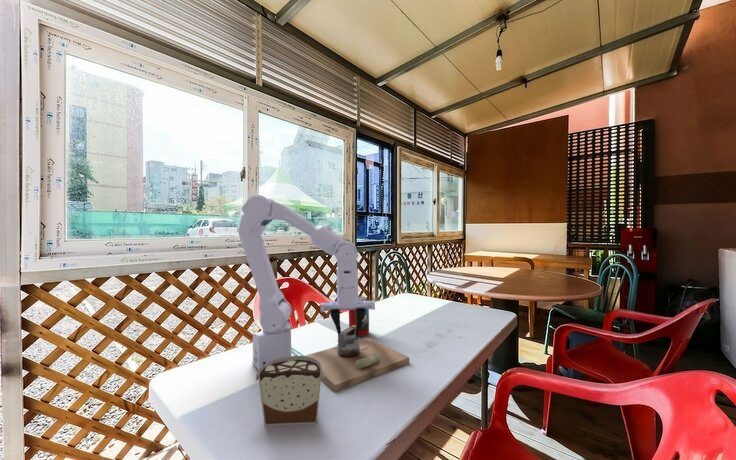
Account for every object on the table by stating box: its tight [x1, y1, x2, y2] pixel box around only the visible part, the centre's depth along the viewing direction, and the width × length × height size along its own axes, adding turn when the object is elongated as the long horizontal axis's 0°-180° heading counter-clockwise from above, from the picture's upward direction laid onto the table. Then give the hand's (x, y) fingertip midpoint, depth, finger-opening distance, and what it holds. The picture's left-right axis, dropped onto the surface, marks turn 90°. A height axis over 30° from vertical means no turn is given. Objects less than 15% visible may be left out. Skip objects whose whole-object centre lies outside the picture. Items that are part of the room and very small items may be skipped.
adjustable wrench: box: [291, 346, 305, 356], centre depth 86 cm, size 14×1×5 cm
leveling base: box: [304, 337, 410, 393], centre depth 76 cm, size 22×18×4 cm
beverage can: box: [348, 295, 370, 337], centre depth 98 cm, size 7×7×12 cm
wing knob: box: [336, 325, 360, 357], centre depth 79 cm, size 7×6×6 cm
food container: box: [254, 355, 325, 427], centre depth 55 cm, size 12×6×10 cm, turn 92°
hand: (348, 336), depth 79 cm, fingers closed on wing knob, 4 cm apart
